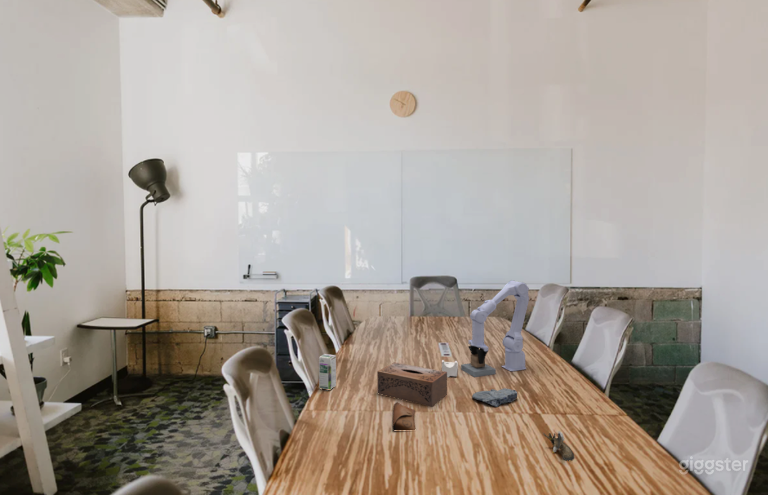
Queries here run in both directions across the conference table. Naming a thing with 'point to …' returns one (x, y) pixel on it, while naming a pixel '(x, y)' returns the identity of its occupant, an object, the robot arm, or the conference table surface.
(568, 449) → the grey-brown figure
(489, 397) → the fossil
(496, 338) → the conference table surface
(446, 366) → the bracket
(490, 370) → the base slab
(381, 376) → the tissue box cover
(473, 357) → the walnut cube
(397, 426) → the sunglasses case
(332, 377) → the syrup box
